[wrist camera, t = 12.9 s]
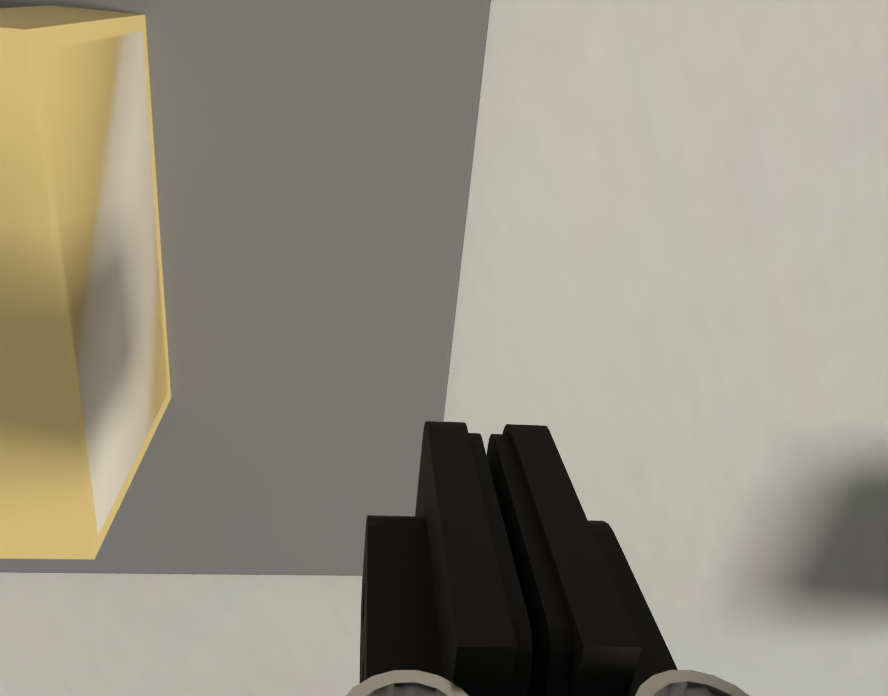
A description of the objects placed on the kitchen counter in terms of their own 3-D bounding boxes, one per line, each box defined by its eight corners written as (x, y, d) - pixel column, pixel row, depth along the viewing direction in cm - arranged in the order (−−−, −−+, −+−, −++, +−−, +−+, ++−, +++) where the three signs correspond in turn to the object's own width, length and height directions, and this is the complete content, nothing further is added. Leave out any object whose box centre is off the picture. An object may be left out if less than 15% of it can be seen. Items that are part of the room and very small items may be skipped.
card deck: (52, 5, 15) (-123, 15, 10) (145, 14, 15) (24, 29, 10) (97, 395, 19) (-11, 558, 13) (171, 398, 19) (94, 559, 14)
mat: (-425, -380, 12) (-460, -397, 12) (513, -239, 14) (518, -248, 14) (-142, 555, 21) (-156, 570, 20) (424, 562, 23) (425, 576, 22)
